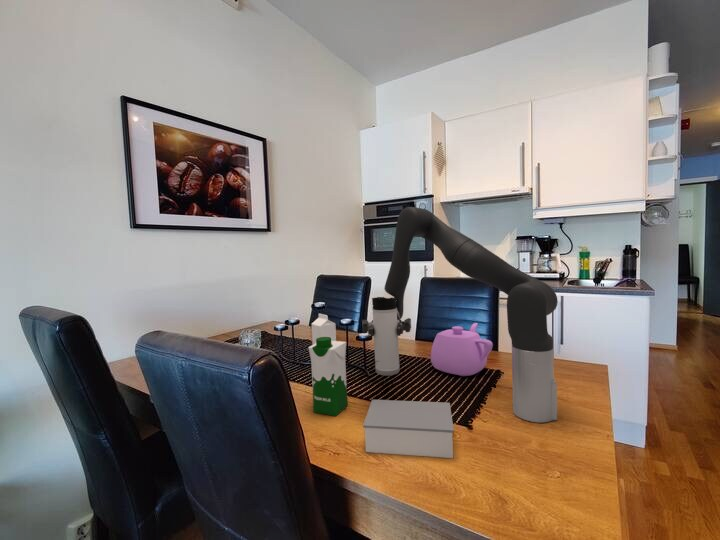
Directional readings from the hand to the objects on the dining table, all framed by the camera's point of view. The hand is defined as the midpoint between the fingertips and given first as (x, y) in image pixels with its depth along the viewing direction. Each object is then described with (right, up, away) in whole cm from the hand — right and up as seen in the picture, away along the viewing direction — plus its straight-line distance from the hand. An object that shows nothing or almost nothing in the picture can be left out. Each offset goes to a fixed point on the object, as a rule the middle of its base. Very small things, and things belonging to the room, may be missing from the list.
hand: (385, 332), depth 87 cm
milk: (-18, -21, +31) cm, 42 cm away
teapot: (+28, -19, +34) cm, 48 cm away
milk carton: (-14, -23, +8) cm, 28 cm away
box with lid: (+5, -22, -9) cm, 25 cm away
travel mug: (+1, -11, +3) cm, 11 cm away
